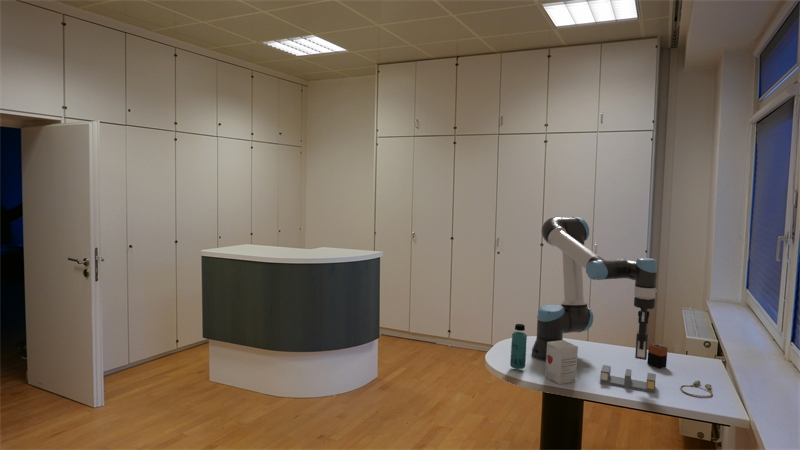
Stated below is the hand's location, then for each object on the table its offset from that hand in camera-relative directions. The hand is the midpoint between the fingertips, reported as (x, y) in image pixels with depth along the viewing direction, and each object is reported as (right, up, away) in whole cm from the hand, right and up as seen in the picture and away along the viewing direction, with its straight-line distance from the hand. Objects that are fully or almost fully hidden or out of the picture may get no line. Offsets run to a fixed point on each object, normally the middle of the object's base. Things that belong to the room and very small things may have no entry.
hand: (641, 354), depth 210 cm
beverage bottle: (-46, -11, +16) cm, 50 cm away
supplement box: (-30, -12, +7) cm, 33 cm away
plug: (0, -1, 0) cm, 1 cm away
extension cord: (+22, -15, -1) cm, 27 cm away
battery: (+19, -11, +26) cm, 34 cm away
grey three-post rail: (-4, -13, +3) cm, 14 cm away
